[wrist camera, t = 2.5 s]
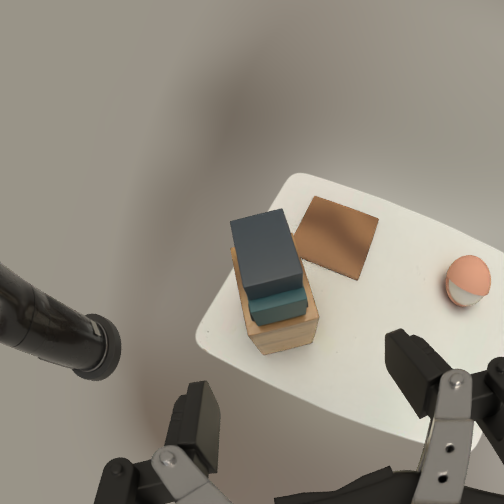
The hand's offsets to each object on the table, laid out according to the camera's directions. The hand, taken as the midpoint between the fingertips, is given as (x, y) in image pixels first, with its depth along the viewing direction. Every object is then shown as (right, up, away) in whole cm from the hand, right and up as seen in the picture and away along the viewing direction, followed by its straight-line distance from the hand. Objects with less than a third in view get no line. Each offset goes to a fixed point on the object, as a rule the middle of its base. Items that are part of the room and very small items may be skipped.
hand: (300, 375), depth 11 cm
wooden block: (+2, -4, +29) cm, 29 cm away
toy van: (0, +2, +17) cm, 18 cm away
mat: (+11, +8, +34) cm, 36 cm away
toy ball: (+31, -1, +25) cm, 40 cm away
